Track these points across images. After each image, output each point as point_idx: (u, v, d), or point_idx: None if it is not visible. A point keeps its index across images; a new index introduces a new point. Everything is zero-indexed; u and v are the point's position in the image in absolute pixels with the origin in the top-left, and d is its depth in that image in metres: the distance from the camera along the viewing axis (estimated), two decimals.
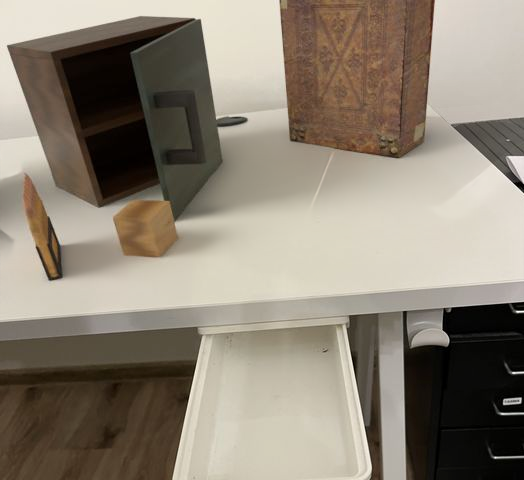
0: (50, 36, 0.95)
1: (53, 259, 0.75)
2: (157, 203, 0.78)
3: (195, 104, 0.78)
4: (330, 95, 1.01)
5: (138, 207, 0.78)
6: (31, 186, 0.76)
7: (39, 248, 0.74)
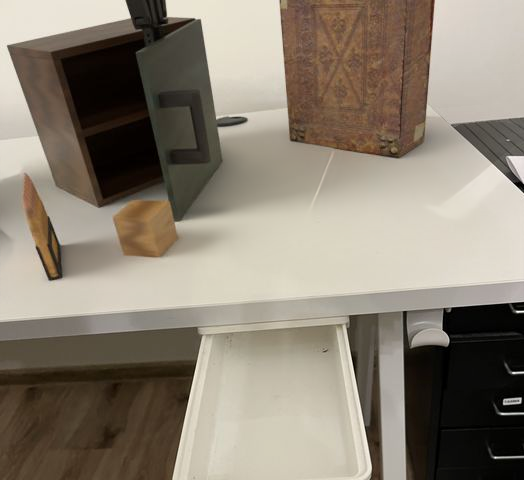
0: (50, 36, 0.95)
1: (53, 259, 0.75)
2: (157, 203, 0.78)
3: (200, 103, 0.78)
4: (330, 95, 1.01)
5: (138, 207, 0.78)
6: (31, 186, 0.76)
7: (39, 248, 0.74)
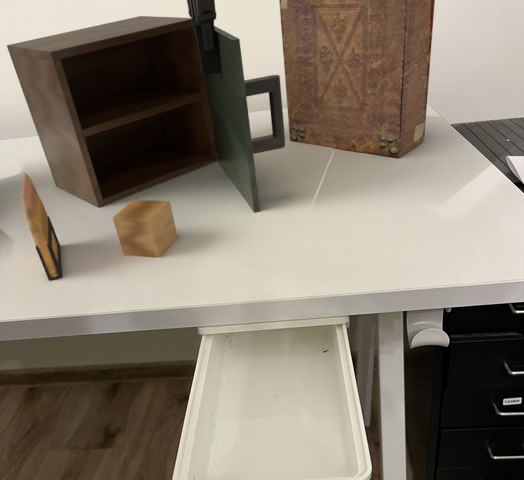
0: (50, 36, 0.95)
1: (53, 259, 0.75)
2: (157, 203, 0.78)
3: (280, 88, 0.80)
4: (330, 95, 1.01)
5: (138, 207, 0.78)
6: (31, 186, 0.76)
7: (39, 248, 0.74)
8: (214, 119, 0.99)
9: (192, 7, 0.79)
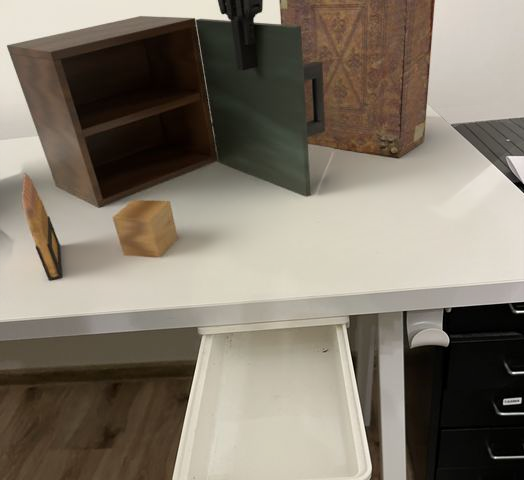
0: (50, 36, 0.95)
1: (53, 259, 0.75)
2: (157, 203, 0.78)
3: None
4: (330, 95, 1.01)
5: (138, 207, 0.78)
6: (31, 186, 0.76)
7: (39, 248, 0.74)
8: (221, 118, 0.99)
9: (230, 3, 0.79)
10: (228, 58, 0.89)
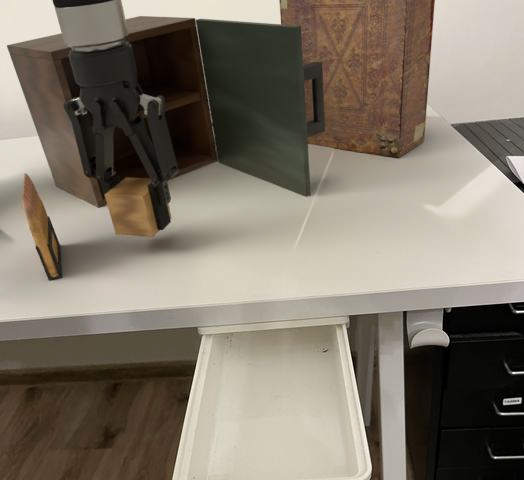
0: (50, 36, 0.95)
1: (53, 259, 0.75)
2: (150, 181, 0.77)
3: None
4: (330, 95, 1.01)
5: (130, 185, 0.76)
6: (31, 186, 0.76)
7: (39, 248, 0.74)
8: (221, 118, 0.99)
9: (104, 169, 0.74)
10: (228, 58, 0.89)
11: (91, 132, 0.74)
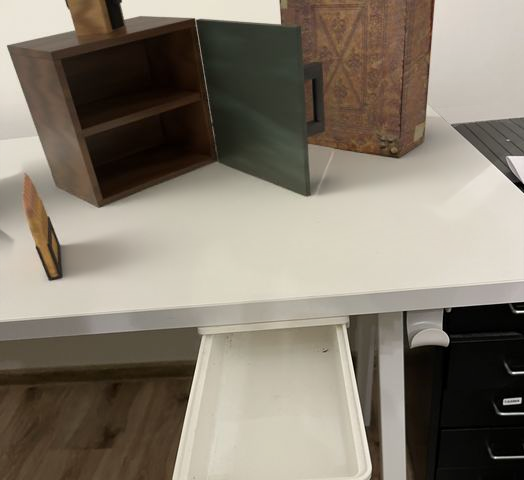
0: (50, 36, 0.95)
1: (53, 259, 0.75)
2: None
3: None
4: (330, 95, 1.01)
5: None
6: (31, 186, 0.76)
7: (39, 248, 0.74)
8: (221, 118, 0.99)
9: None
10: (228, 58, 0.89)
11: None
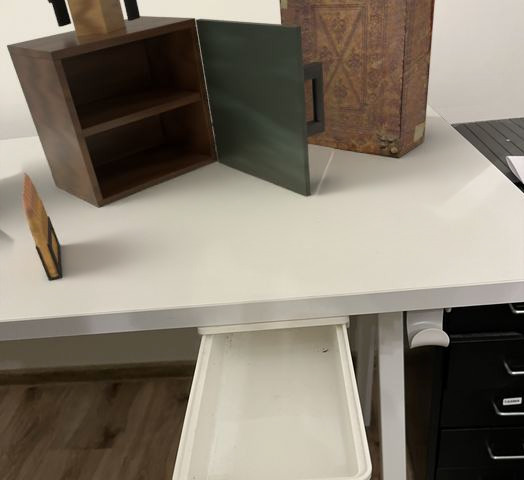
0: (50, 36, 0.95)
1: (53, 259, 0.75)
2: None
3: None
4: (330, 95, 1.01)
5: None
6: (31, 186, 0.76)
7: (39, 248, 0.74)
8: (221, 118, 0.99)
9: None
10: (228, 58, 0.89)
11: None
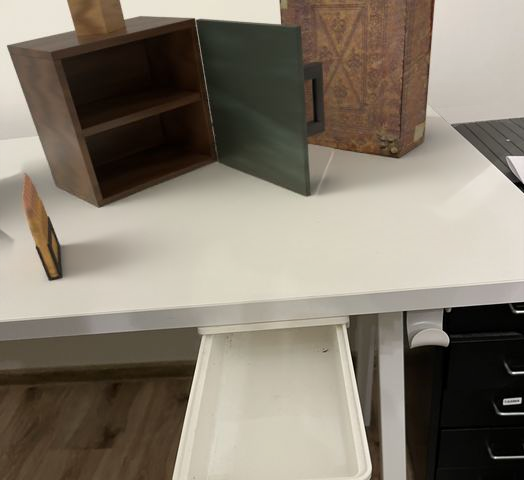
0: (50, 36, 0.95)
1: (53, 259, 0.75)
2: None
3: None
4: (330, 95, 1.01)
5: None
6: (31, 186, 0.76)
7: (39, 248, 0.74)
8: (221, 118, 0.99)
9: None
10: (228, 58, 0.89)
11: None
